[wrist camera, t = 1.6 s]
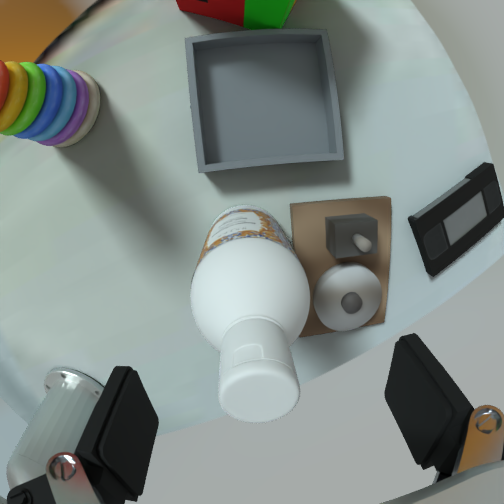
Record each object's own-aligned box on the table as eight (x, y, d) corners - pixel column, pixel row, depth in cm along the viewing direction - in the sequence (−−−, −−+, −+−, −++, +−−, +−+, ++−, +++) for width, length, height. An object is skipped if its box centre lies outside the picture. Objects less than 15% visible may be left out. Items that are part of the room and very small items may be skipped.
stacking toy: (113, 74, 23) (-19, 9, 5) (92, 151, 25) (-61, 169, 7) (53, 72, 22) (-77, 38, 4) (36, 143, 24) (-104, 160, 6)
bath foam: (270, 194, 27) (344, 287, 8) (289, 262, 29) (360, 425, 10) (198, 216, 27) (125, 346, 9) (221, 281, 30) (205, 460, 11)
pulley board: (379, 316, 32) (403, 346, 26) (297, 331, 32) (308, 366, 26) (385, 196, 28) (418, 207, 22) (289, 203, 28) (303, 217, 22)
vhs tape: (405, 217, 29) (414, 221, 27) (482, 161, 27) (492, 162, 25) (424, 270, 31) (433, 276, 29) (495, 212, 29) (505, 216, 27)
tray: (334, 159, 26) (344, 159, 24) (202, 171, 26) (198, 173, 24) (318, 39, 22) (327, 29, 20) (189, 48, 22) (184, 38, 20)
